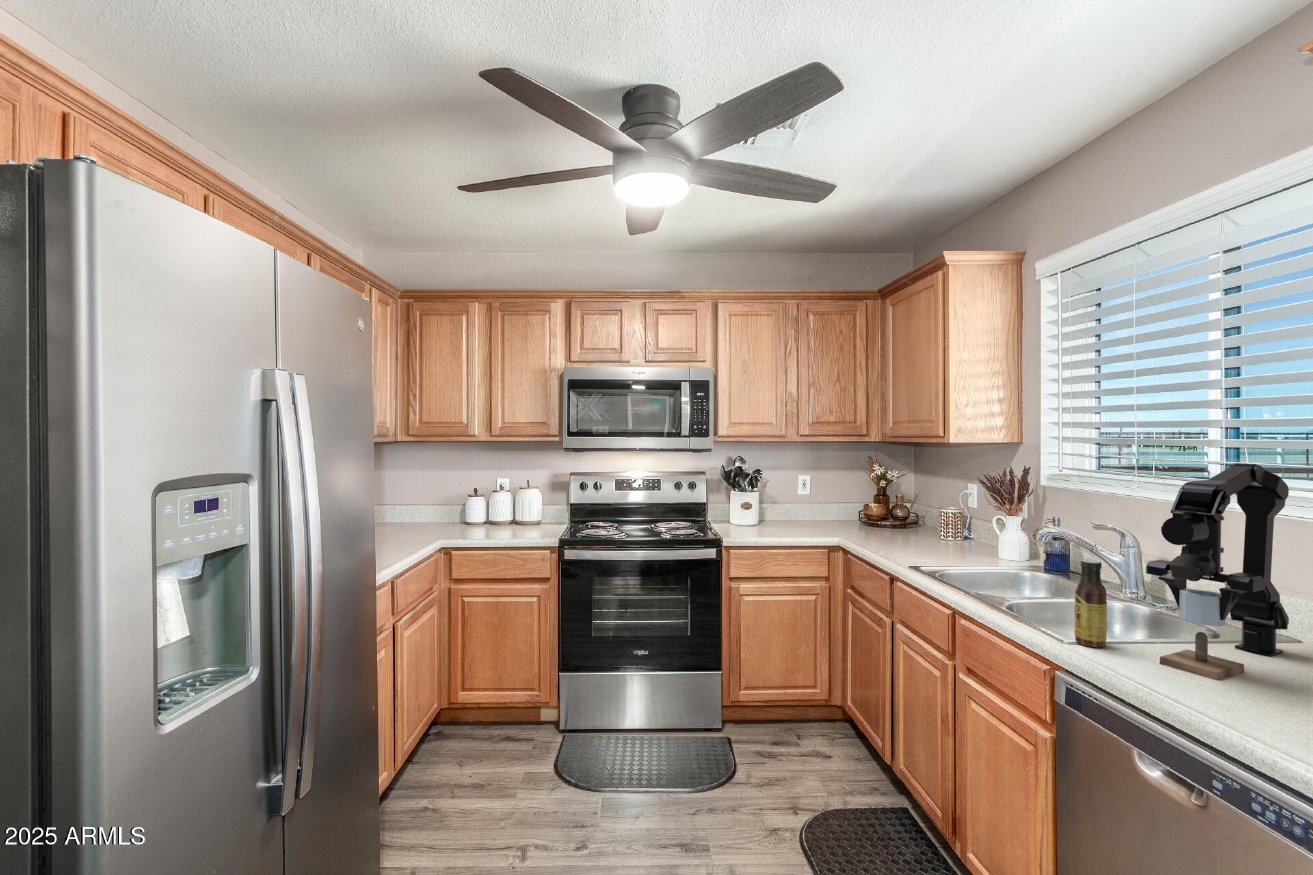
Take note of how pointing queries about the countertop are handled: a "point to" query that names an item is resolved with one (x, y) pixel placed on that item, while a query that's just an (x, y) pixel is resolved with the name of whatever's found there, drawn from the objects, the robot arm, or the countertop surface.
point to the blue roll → (1200, 607)
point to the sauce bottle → (1090, 606)
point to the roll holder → (1202, 661)
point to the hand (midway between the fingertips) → (1201, 615)
